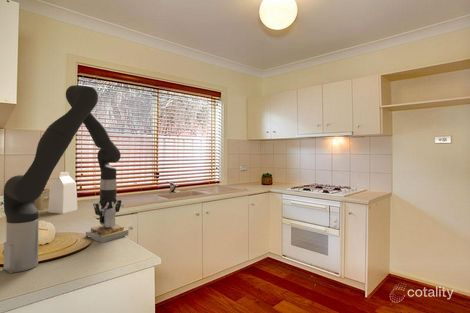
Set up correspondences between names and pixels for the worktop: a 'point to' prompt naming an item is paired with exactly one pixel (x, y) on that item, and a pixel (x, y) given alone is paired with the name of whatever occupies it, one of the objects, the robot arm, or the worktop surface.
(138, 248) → the worktop surface
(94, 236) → the dock
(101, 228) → the pallet
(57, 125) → the robot arm
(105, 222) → the medicine box
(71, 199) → the milk
